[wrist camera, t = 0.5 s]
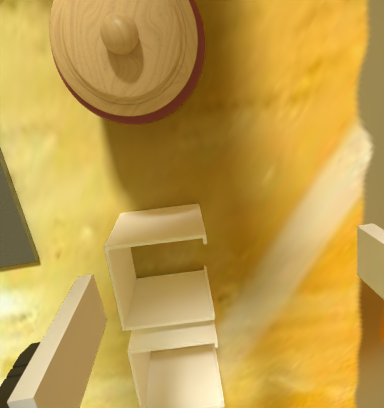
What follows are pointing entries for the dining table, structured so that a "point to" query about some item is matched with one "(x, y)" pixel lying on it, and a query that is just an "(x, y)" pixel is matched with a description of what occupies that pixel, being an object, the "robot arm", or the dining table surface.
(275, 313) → the dining table surface
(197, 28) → the canister
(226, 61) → the dining table surface
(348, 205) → the dining table surface
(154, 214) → the desk organizer
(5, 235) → the cup holder
